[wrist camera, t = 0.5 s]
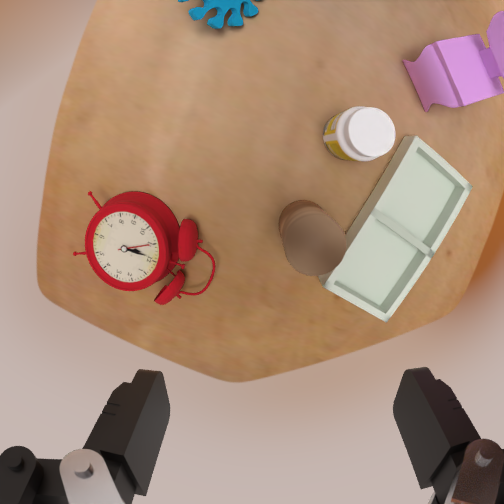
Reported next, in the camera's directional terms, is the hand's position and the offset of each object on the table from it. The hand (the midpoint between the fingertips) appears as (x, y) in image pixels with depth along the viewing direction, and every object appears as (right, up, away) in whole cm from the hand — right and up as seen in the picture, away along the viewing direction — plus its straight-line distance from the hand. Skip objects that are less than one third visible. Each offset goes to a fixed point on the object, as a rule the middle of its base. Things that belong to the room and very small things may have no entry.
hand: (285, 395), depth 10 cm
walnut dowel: (+4, +7, +23) cm, 25 cm away
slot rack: (+14, +7, +23) cm, 28 cm away
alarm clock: (-12, +5, +25) cm, 28 cm away
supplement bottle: (+8, +16, +21) cm, 28 cm away
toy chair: (+20, +24, +18) cm, 36 cm away
